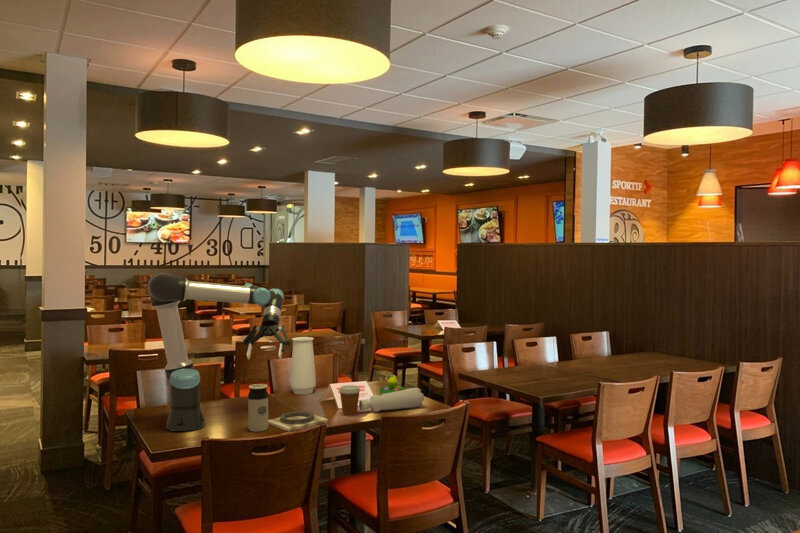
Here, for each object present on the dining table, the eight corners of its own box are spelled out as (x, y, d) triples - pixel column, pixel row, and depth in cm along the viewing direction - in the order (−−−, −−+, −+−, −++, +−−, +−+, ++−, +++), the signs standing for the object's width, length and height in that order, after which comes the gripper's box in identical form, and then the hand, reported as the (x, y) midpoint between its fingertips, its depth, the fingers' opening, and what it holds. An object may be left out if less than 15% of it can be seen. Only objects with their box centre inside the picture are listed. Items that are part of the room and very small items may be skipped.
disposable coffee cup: (352, 417, 269) (351, 390, 269) (334, 414, 274) (334, 388, 274) (364, 413, 277) (364, 386, 277) (347, 410, 282) (347, 384, 282)
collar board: (288, 431, 249) (288, 424, 249) (266, 423, 261) (265, 416, 261) (328, 422, 263) (327, 415, 263) (304, 414, 275) (304, 407, 275)
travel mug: (247, 427, 254) (246, 384, 254) (266, 425, 257) (265, 383, 257) (250, 433, 247) (249, 388, 246) (270, 430, 250) (269, 386, 250)
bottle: (415, 396, 295) (356, 405, 283) (419, 383, 290) (359, 391, 278) (422, 410, 288) (362, 420, 276) (426, 397, 283) (365, 405, 271)
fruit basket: (379, 399, 302) (378, 377, 302) (383, 395, 311) (383, 373, 310) (401, 400, 300) (401, 377, 299) (405, 396, 308) (405, 374, 308)
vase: (285, 393, 315) (285, 339, 314) (299, 388, 327) (298, 336, 326) (307, 396, 310) (307, 340, 309) (320, 390, 322) (320, 337, 321)
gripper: (300, 323, 279) (294, 362, 264) (245, 323, 280) (236, 362, 265) (297, 313, 274) (291, 352, 259) (242, 313, 274) (232, 352, 259)
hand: (263, 357), depth 262 cm, fingers open, 13 cm apart
